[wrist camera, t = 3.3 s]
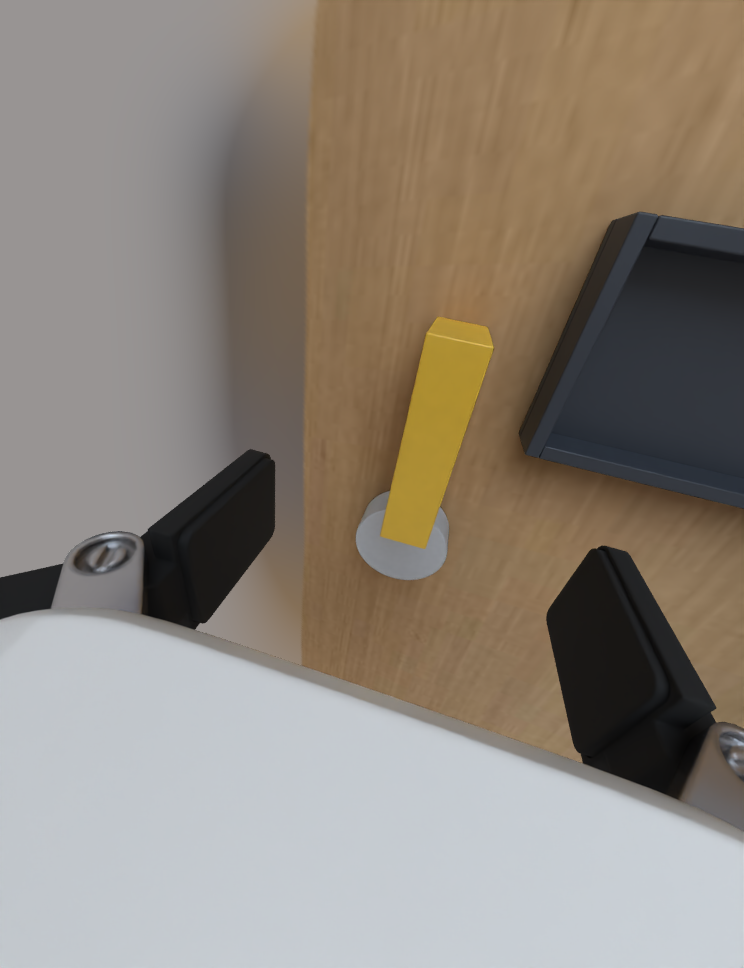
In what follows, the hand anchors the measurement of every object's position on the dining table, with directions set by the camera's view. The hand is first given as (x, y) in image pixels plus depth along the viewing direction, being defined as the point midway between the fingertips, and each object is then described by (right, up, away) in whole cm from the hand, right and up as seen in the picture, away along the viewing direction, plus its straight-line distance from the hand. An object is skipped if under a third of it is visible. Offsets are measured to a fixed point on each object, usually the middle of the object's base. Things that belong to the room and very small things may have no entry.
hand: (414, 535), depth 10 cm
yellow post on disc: (+1, +2, +8) cm, 9 cm away
